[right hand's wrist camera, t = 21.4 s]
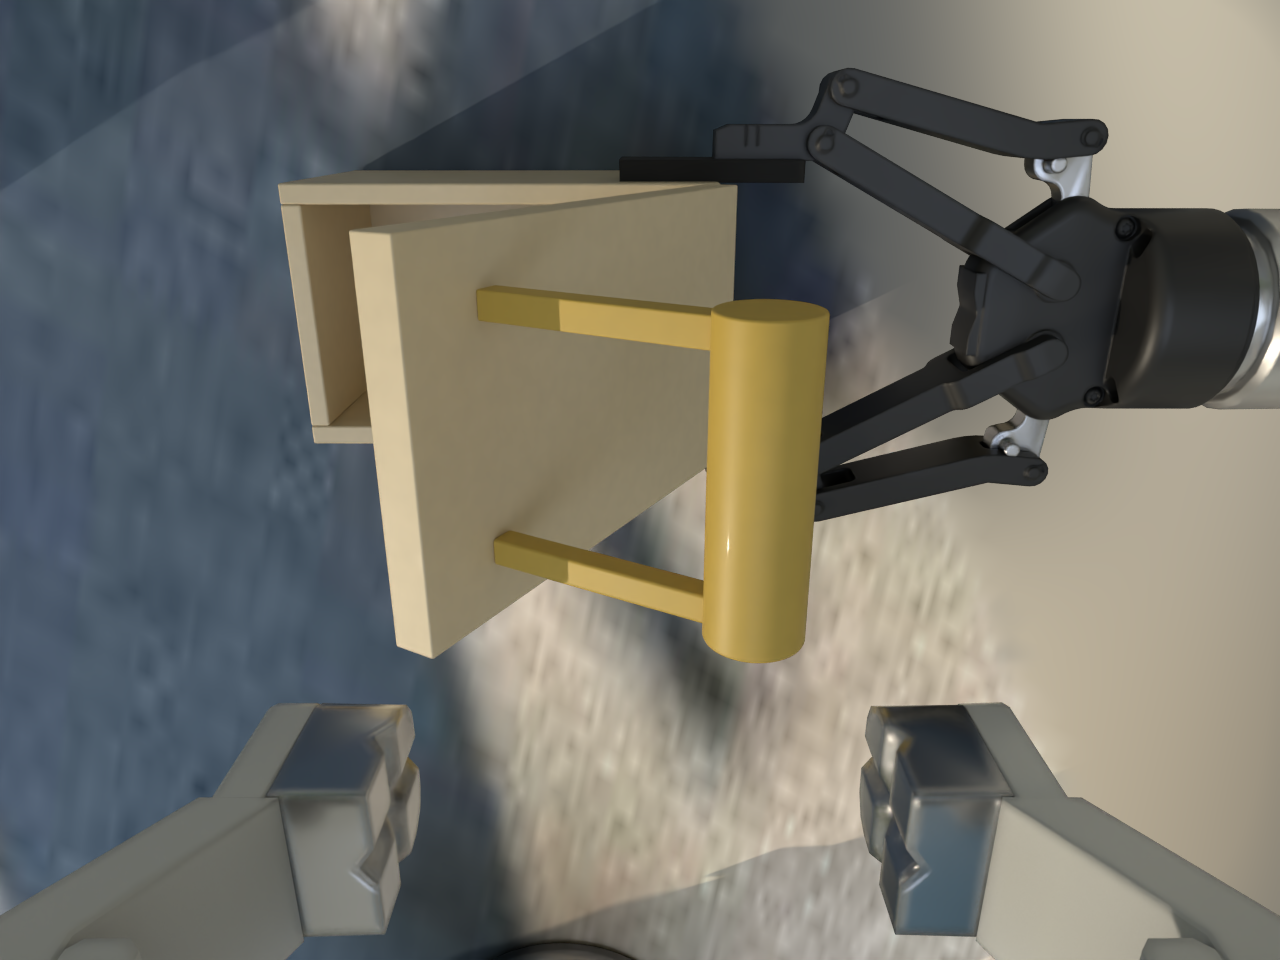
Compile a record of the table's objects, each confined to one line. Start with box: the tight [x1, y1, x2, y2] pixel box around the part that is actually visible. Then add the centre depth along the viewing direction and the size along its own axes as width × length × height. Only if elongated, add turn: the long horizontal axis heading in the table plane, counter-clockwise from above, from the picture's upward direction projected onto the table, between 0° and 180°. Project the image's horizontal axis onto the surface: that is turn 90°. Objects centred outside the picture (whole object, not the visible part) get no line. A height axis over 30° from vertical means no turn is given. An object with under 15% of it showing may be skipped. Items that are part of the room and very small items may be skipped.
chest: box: [278, 170, 720, 443], centre depth 37 cm, size 15×10×9 cm, turn 90°
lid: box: [349, 184, 830, 663], centre depth 24 cm, size 16×10×9 cm
